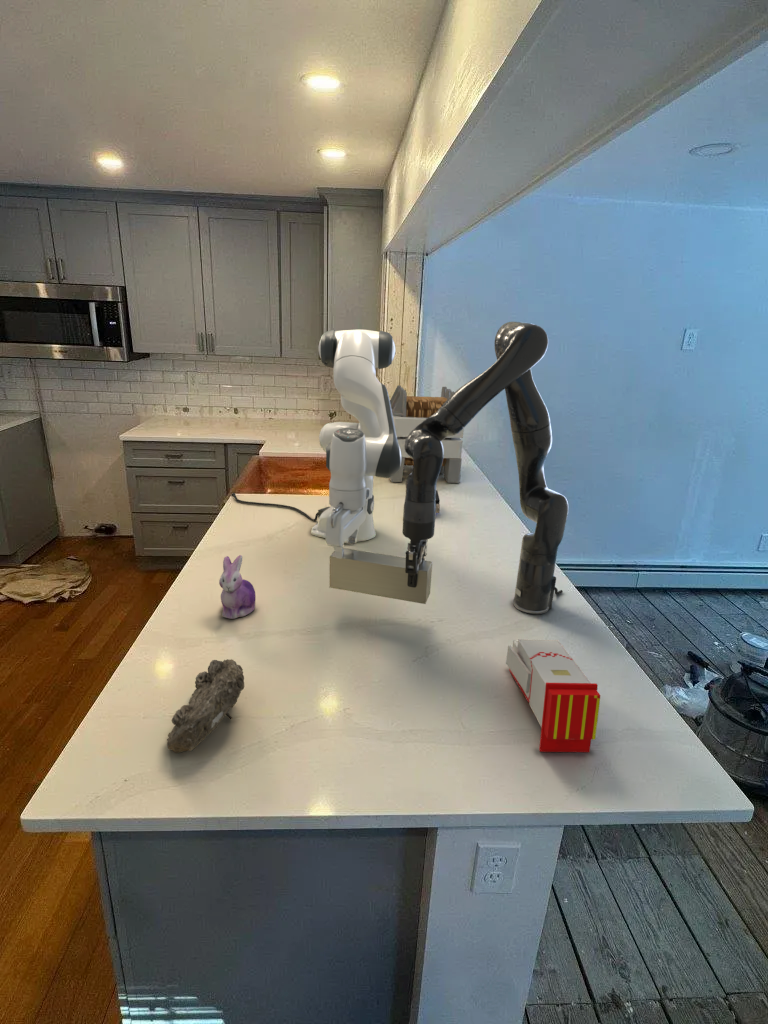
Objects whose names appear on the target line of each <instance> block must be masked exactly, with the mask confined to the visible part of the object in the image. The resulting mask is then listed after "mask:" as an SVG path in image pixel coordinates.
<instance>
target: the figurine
mask: <svg viewBox="0 0 768 1024" xmlns="http://www.w3.org/2000/svg"><path fill="white" fill-rule="evenodd" d="M222 560H223V561H222V571H223V572H222V573H221V575H220V578H219V579H218V585H219V587H220V588H221V589H222V591H221V593H220V602H221V605H222V614H221V615H222V617H223V618H226V619H237V618H241V617H245V616H247V615H249V614H251V613H253V612H254V611H255V607H256V590H255V588H254V586H253V585H254V584H252V583H251V582H250V581H249V580H247V579H243V577H242V575H241V573H240V570H241V568H242V564H243V555H241V554H239V555H237V557H236V558H234V560H233V562H232V561H231V558H230V556H228V555H226V556H224V557H223V559H222Z"/></svg>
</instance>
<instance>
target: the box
mask: <svg viewBox="0 0 768 1024" xmlns="http://www.w3.org/2000/svg"><path fill="white" fill-rule="evenodd" d="M343 550H344V556H343V557H342V558H341V559H339V558H336V557H335V550H334V551H332V553H331V554H330V555H329V567H328V568H329V569H328V571H329V573H328V574H329V576H328V577H329V582H328V583H329V584H328V588H329V589H335V590H341V591H347V592H353V593H357V594H358V593H359V594H364V595H370V596H376V597H382V598H387V599H393V600H398V601H405V602H410V603H416V604H423V605H426V604H427V602H428V599H429V597H430V594H431V588H432V575H433V574H432V573H433V561H430V560H422V563H421V564H419V569H418V576H417V586H416V587H415V588H414V587H409V586H408V585H407V582H408V573H405V568H406V556H397V555H391V554H384V553H379V552H372V551H365V550H359V549H351V548H346V547H343ZM417 560H418V559H417ZM410 568H414V567H413V566H411V567H410Z"/></svg>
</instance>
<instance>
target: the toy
mask: <svg viewBox="0 0 768 1024" xmlns="http://www.w3.org/2000/svg"><path fill="white" fill-rule="evenodd" d="M505 659H506V660H505V665H506V666H507V667H508V671H509V673H510V674H511V676H512V678H513V679H514V681H515V682H516V685H517V686H518V688H519V690H520V691H521V692H522V694H523V697H525V699H526V701H527V703H529V707H530V709H531V711H532V712H533V714H534V716H535V718H536V720H537V722H538V724H539V726H540V728H541V729H540V739H539V748H538V751H539V752H540V753H543V752H544V753H590V752H591V744H592V743H591V742H592V740H596V736H597V727H598V720H599V719H598V718H599V710H600V704H601V703H600V702H601V696H602V695H601V694H600V693H599V692H598V687H599V686H598V683H595V682H594V683H592V682H591V681H590V679H589V678H588V677H587V676H586V674H585V673H584V671H583V670H582V669H581V668H580V666H579V665H578V664H577V663H576V662H575V661H576V660H574V659H573V658H572V656H571V655H570V653H568V651H567V650H566V648H565V647H564V645H563V644H562V643H561V642H560V641H559V639H529V638H528V639H524V638H521V639H517V640H512V645H511V644H510V645H509V644H508V646H507V653H506V658H505Z"/></svg>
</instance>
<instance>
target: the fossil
mask: <svg viewBox="0 0 768 1024" xmlns="http://www.w3.org/2000/svg"><path fill="white" fill-rule="evenodd" d="M243 670H244V669H243V667H242V665H240V664H237V662H236V661H235V660H234V659H232V658H231V659H227V658H226V659H224V660H223V661H222V660H217V659H212V660H211V661H210V663H209V665H208V666H207V671H201V672H199V673H198V674H197V675H196V676H195V680H194V684H195V685H194V687H195V689H194V690H193V693H192V694H191V697H190V698H189V700H188V704H184V705H182V706H181V707H180V709H177V710H176V711H175V713H174V715H173V716H172V718H171V723H172V724H173V727H172V730H171V731H170V732H168V734H167V738H166V741H167V742H166V745H167V749H168V750H169V751H173V752H174V753H176V754H178V753H182V752H188V751H189V752H192V751H193V750H195V748H196V747H197V746H199V744H200V743H201V742H203V741H204V740H205V739H206V738H207V737H208V736H209V735H210V734H211V733H212V732H214V730H215V729H217V727H218V726H219V724H220V722H221V721H222V720H223V719H224V718H225V716H226V717H227V719H229V720H233V717H232V715H230V714H229V710H230V709H231V708H234V706H235V704H236V703H237V702H238V699H239V697H240V695H241V693H242V691H243V690H245V689H244V688H245V675H244V671H243Z"/></svg>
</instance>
